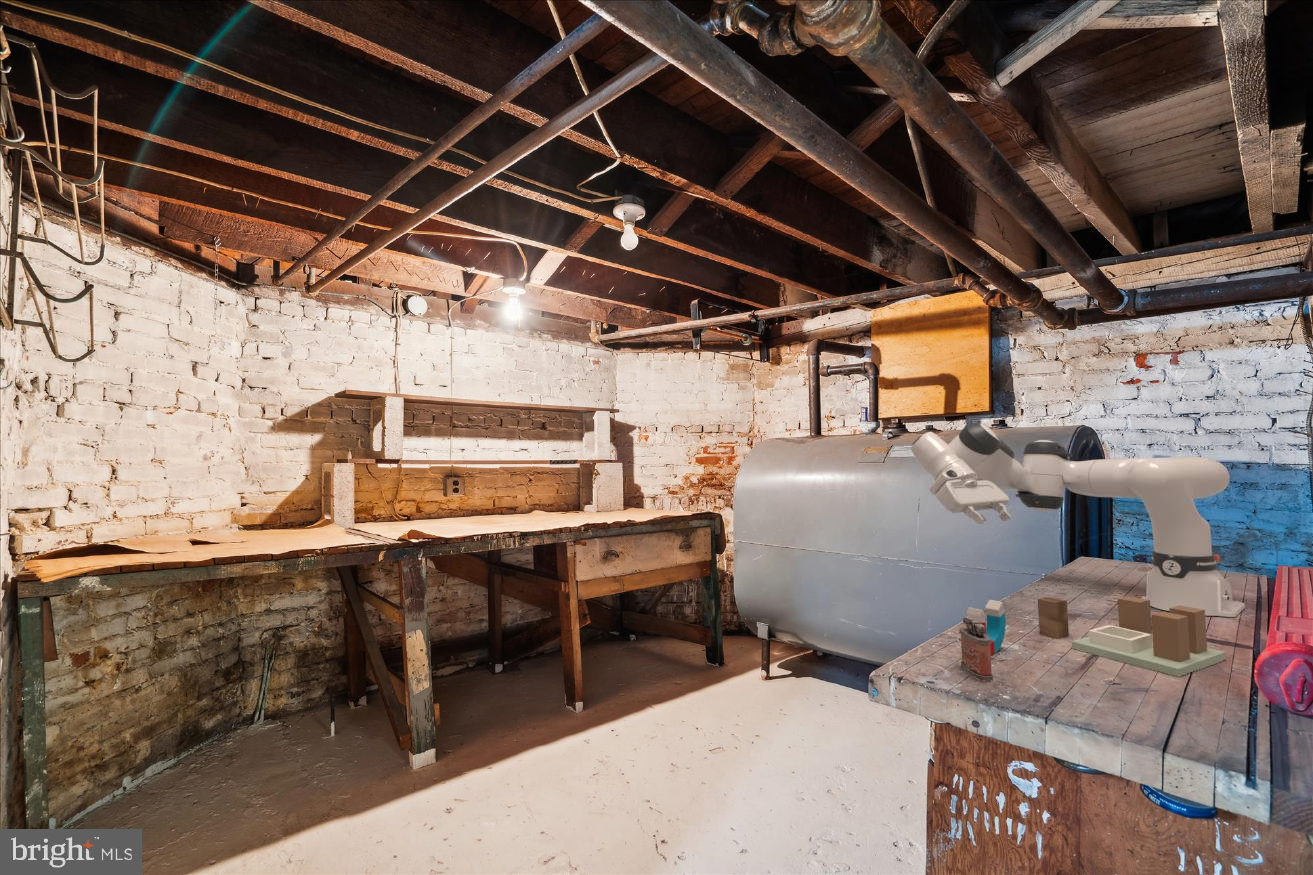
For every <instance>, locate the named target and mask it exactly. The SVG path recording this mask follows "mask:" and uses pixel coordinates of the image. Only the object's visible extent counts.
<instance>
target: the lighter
mask: <svg viewBox="0 0 1313 875" xmlns="http://www.w3.org/2000/svg"><path fill="white" fill-rule="evenodd" d="M962 623H963V624H964V625H965V627H964V626H963V627H962V626H961V627H959V633H960V644H961V662H960V667H961V668H962V670H963V669H964V672H965V673H967V674H968V673H969V674H968V675H970V676H971V675H972V678H975V677H976V678H975V679H977V678H978V679H977V680H979V679H981V680H980V681H982V680H985V681H984V682H992V681H994V677H993V674H992V657H991V654H990V644H991V638H990V637H988V636H987V635H986V634H984V632H985V629H984V626H983V625H982V624H981V622H980V621H979V620H974V619H972V618H970V617H968V616H967V615H966V616H963V617H962ZM966 625H968V626H967V627H966ZM991 680H992V681H991Z"/></svg>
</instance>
